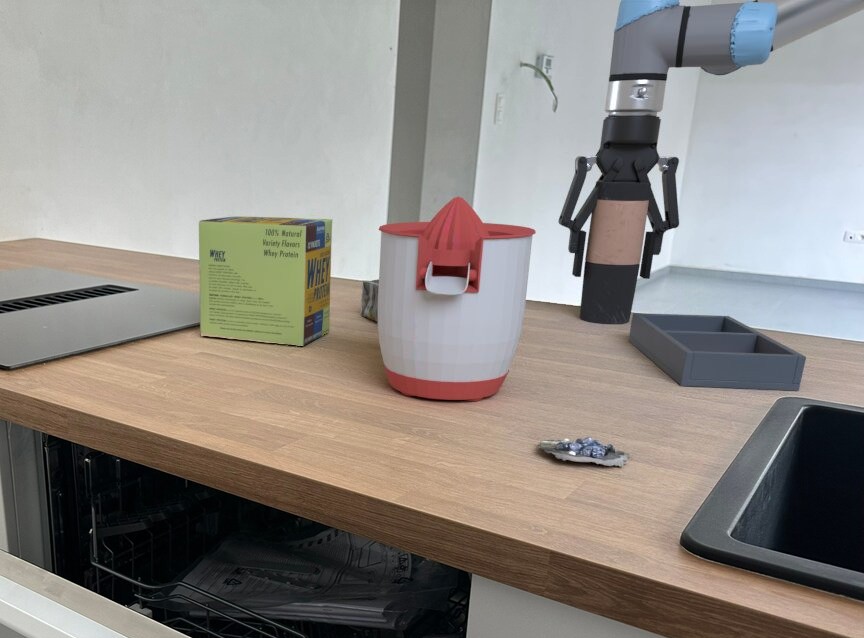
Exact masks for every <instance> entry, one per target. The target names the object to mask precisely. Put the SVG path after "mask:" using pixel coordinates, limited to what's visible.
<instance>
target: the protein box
mask: <svg viewBox="0 0 864 638" xmlns="http://www.w3.org/2000/svg"><path fill="white" fill-rule="evenodd" d="M332 235H333V219H331V218H302V217H301V218H300V217H278V216H277V217H274V216H273V217H271V216H241V215H240V216H239V215H238V216H235V215H234V216H225V217H216V218H209V219H201V220H199V221H198V261H199V262H198V263H199V334H200V333H203V334H210V335H218V336H225V337H234V338H242V339H252V340H261V341H269V342H276V343H284V344H294V345H300V346H303V347H305V346H307V345H308V344H310V343H312V342H314V341H316V340H318V339H319V338H322V337H323V336H325V335H327V334H329V333H330V320H331V319H330V318H331V316H330V314H331V277H332V276H331V274H332V273H331V271H332V270H331V269H332V240H333V239H332V237H333V236H332ZM328 332H329V333H328ZM326 333H327V334H326ZM324 334H325V335H324ZM317 338H318V339H317ZM315 339H316V340H315ZM313 340H314V341H313ZM311 341H312V342H311ZM309 342H310V343H309ZM307 343H308V344H307ZM306 344H307V345H306ZM304 345H305V346H304Z"/></svg>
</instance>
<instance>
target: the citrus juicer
mask: <svg viewBox="0 0 864 638" xmlns="http://www.w3.org/2000/svg"><path fill="white" fill-rule="evenodd" d="M378 231H379V232H380V248H379V249H380V252H379V270H378V271H379V272H378V279H379V290H378V322H377V333H378V334H377V335H378V340H379V348H380V353H381V356H382V360H383V368H384V371H385V374H386V377H387V379H388V383H389V385H390V386H391V387H392V388H393V389H395V390H397V391H399V392H401V394H402V395H403V394H404V396H406V397H411V396H417V397H418V398H419V397H421V398H424V399H425V398H426V399H433V400H446V401H448V400H449V401H463V400H464V401H467V402H478V401H481V400H483V398H487V397H490V396H493V395H496V394H497V393H498V392H499V391H500V389H501V387H502V386H503V384H504V383H505V380H506V378H507V376H508V374H509V372H510V367H511V364H512V362H513V359H514V357H515V354H516V352H517V349H518V345H519V341H520V338H521V335H522V331H523V324H524V319H525V310H526V303H527V302H526V301H527V292H528V291H527V290H528V283H529V272H530V265H531V263H530V262H531V255H532V245H533V244H532V243H533V236H534V235H535V234H536V233H537V232H536V230H535V229H534V228H531V227H527V226H521V225H515V224H503V223H491V222H490V223H489V222H483V221H482V219H481V218H480V216H479V215H478V214H477V212H476V211H475V210H474V209H473V208H472V206H471V205H470V204H469V203H468V201H466V200H465V199H464V198H463V197H461V196H456V197H455V196H454V198H452V199H451V200H450V201H448V202H447V203H445V205H444V206H443V207H442V208H441V209H440V210H439V211H438V212H437V213H436V214H435V215H434V216H433V217H432V219H431V220H430V221H413V222H411V221H408V222H395V223H387V224H382V225H380V226H379V228H378Z"/></svg>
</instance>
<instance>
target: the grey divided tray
mask: <svg viewBox="0 0 864 638" xmlns="http://www.w3.org/2000/svg"><path fill="white" fill-rule="evenodd" d="M628 342H629V343H630V344H632V345H633V346H634V347H635V348H636V349H637V350H639V351H640V352H641V353H642V354H643V355H645V356H646V357H647V358H648V359H649V360H650V361H652V362H653V363H654V364H655V365H656V366H658V368H660V370H662V371H663V372H664V373H665V374H666V375H668V377H670V378H671V379H672V380H674V382H676V383H677V384H678V385H679V386H680V387H694V388H695V387H696V388H697V387H698V388H719V389H741V390H742V389H743V390H744V389H746V390H766V391H767V390H768V391H792V392H799V391H800V389H801V383H802V378H803V374H804V369H805V365H806V361H807V356H806V355H804V354H802V353H800V352H798V351H796V350H795V349H793V348H790V347H789V346H787V345H785V344H783V343H781V342H780V341H777V340H775V339H773V338H771V337H770V336H768V335H766V334H764V333H762V332H760V331H759V330H756V329H754V328H752V327H750V326H749V325H747V324H745V323H743V322H741V321H739V320H737V319H735V318H734V317H731V316H730V315H713V314H712V315H710V314H708V315H707V314H677V313H675V314H674V313H646V312H645V313H641V312H633V313H632V314H631V322H630V329H629V336H628Z"/></svg>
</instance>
